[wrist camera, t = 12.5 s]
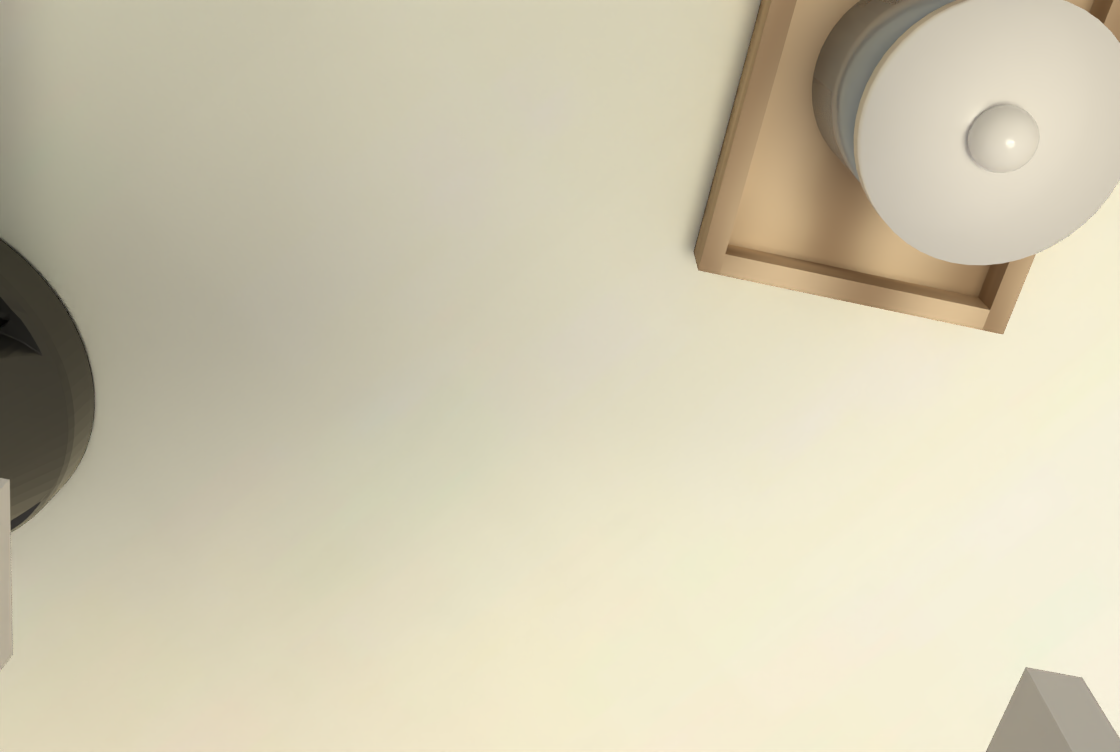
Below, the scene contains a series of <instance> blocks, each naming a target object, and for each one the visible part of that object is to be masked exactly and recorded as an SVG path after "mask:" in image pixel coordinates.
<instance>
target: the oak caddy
mask: <svg viewBox="0 0 1120 752" xmlns="http://www.w3.org/2000/svg"><path fill="white" fill-rule="evenodd" d="M859 1H860V0H761V4H760V8H759V11H758V15H757V19H756V22H755V26H754V30H753V34H752V37H751V41H750V45H749V48H748V52H747V56H746V60H745V63H744V67H743V71H742V75H741V78H740V82H739V86H738V89H737V93H736V97H735V101H734V104H733V108H732V112H731V115H730V119H729V123H728V127H727V130H726V134H725V138H724V141H723V145H722V149H721V153H720V156H719V160H718V164H717V168H716V171H715V175H714V179H713V182H712V186H711V190H710V194H709V197H708V201H707V205H706V208H705V212H704V216H703V220H702V223H701V227H700V231H699V234H698V238H697V242H696V246H695V249H694V255H695V259H696V263H697V267H698V270H700V271H704V272H709V273H714V274H719V275H723V276H728V277H733V278H738V279H742V280H747V281H752V282H757V283H761V284H766V285H771V286H776V287H780V288H785V289H790V290H795V291H799V292H804V293H809V294H814V295H818V296H823V297H828V298H833V299H837V300H842V301H847V302H852V303H856V304H861V305H866V306H871V307H875V308H880V309H885V310H890V311H894V312H899V313H904V314H909V315H913V316H918V317H923V318H928V319H933V320H937V321H942V322H947V323H952V324H956V325H961V326H966V327H971V328H975V329H980V330H985V331H990V332H994V333H999V334H1003V333H1004V331H1005V328H1006V326H1007V323H1008V321H1009V318H1010V316H1011V314H1012V311H1013V309H1014V306H1015V304H1016V301H1017V299H1018V296H1019V294H1020V291H1021V289H1022V286H1023V284H1024V282H1025V279H1026V277H1027V274H1028V272H1029V269H1030V267H1031V264H1032V262H1033V259H1034V257H1035V255H1036V254H1034V255H1031V256H1028V257H1025V258H1023V259H1020V260H1015V261H1011V262H1006V263H1002V264H992V265H964V264H957V263H951V262H947V261H944V260H940V259H937V258H934V257H932V256H929V255H927V254H925V253H923V252H920V251H919V250H917V249H915V248H914V247H912V246H911V245H909V244H907V243H906V242H905V241H904V240H902V239H901V238H900V237H899V236H898V235H897V234H895V233H894V232H893V230H892V229H891V228H890V227H889V226H888V225H887V224H886V223H885V221H884V220H883V219H882V218H881V217H880V216H879V214H878V213H877V212H876V211H875V209H874V208H873V206H872V205H871V203H870V202H869V200H868V198H867V196H866V194H865V192H864V190H863V188H862V186H861V183H860V182H859V181H858V180H857V179H856V178H855V176H854V175H853V174H852V173H851V172H850V171H849V170H848V169H847V167H846V166H845V165H844V164H843V163H842V162H841V161H840V159H839V158H838V157H837V156H836V155H835V154H834V153H833V152H832V150H831V149H830V148H829V147H828V145H827V143H826V142H825V140H824V139H823V137H822V135H821V133H820V131H819V128H818V126H817V123H816V119H815V116H814V111H813V105H812V81H813V74H814V70H815V65H816V62H817V59H818V56H819V53H820V51H821V48H822V46H823V44H824V42H825V40H826V38H827V37H828V35H829V33H830V32H831V30H832V29H833V27H834V26H835V25H836V23H837V22H838V21H839V20H840V19H841V18H842V16H843V15H844V14H845V13H846V12H847V11H848V10H849V9H850V8H852V7H853V6H854V5H855V4H856V3H857V2H859ZM1064 1H1067V2H1070V3H1072V4H1074V5H1076V6H1078V7H1080V8H1082V9H1084V10H1086V11H1087V12H1089V13H1090V14H1091V15H1093V16H1094V17H1096V18H1097V19H1099V20H1100V21H1101V22H1102V23H1103V24H1104V25H1105V26H1106V27H1107V28H1108V29H1109V30H1110V31H1111V32H1112V33H1113V35H1114V36H1115V37H1116V39H1117V40H1118V41H1119V43H1120V0H1064Z"/></svg>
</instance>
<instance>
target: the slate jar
mask: <svg viewBox="0 0 1120 752" xmlns="http://www.w3.org/2000/svg"><path fill="white" fill-rule="evenodd" d="M812 105H813V111H814V116H815V119H816V123H817V126H818V128H819V131H820V133H821V135H822V137H823V139H824V140H825V142H826V143H827V145H828V147H829V148H830V149H831V150H832V152H833V153H834V154H835V155H836V156H837V157H838V158H839V159H840V161H841V162H842V163H843V164H844V165H845V166H846V167H847V169H848V170H849V171H850V172H851V173H852V174H853V175H854V176H855V178H856V179H857V180H858V181H859V182H860V183H861V186H862V188H863V190H864V192H865V194H866V196H867V198H868V200H869V202H870V203H871V205H872V206H873V208H874V209H875V211H876V212H877V213H878V214H879V216H880V217H881V218H882V219H883V220H884V221H885V223H886V224H887V225H888V226H889V227H890V228H891V229H892V230H893V232H894V233H895V234H897V235H898V236H899V237H900V238H901V239H902V240H904V241H905V242H906V243H907V244H909V245H911V246H912V247H914V248H915V249H917V250H919V251H920V252H923V253H925V254H927V255H929V256H932V257H934V258H937V259H940V260H944V261H947V262H951V263H957V264H964V265H992V264H1002V263H1006V262H1011V261H1015V260H1020V259H1023V258H1025V257H1028V256H1031V255H1034V254H1037V253H1039V252H1041V251H1043V250H1045V249H1047V248H1049V247H1051V246H1053V245H1055V244H1057V243H1058V242H1060V241H1061V240H1063V239H1065V238H1066V237H1068V236H1069V235H1071V234H1072V233H1073V232H1074V231H1076V230H1077V229H1078V228H1080V227H1081V226H1082V225H1083V224H1084V223H1085V222H1086V221H1087V220H1088V219H1090V218H1091V217H1092V216H1093V215H1094V214H1095V213H1096V212H1097V211H1098V209H1099V208H1100V207H1101V206H1102V205H1103V203H1104V202H1105V201H1106V200H1107V198H1108V197H1109V196H1110V194H1111V193H1112V191H1113V190H1114V188H1115V187H1116V185H1117V184H1118V182H1119V180H1120V43H1119V41H1118V40H1117V39H1116V37H1115V36H1114V35H1113V33H1112V32H1111V31H1110V30H1109V29H1108V28H1107V27H1106V26H1105V25H1104V24H1103V23H1102V22H1101V21H1100V20H1099V19H1097V18H1096V17H1094V16H1093V15H1091V14H1090V13H1089V12H1087V11H1086V10H1084V9H1082V8H1080V7H1078V6H1076V5H1074V4H1072V3H1070V2H1067V1H1064V0H860V1H859V2H857V3H856V4H855V5H854V6H853V7H852V8H850V9H849V10H848V11H847V12H846V13H845V14H844V15H843V16H842V18H841V19H840V20H839V21H838V22H837V23H836V25H835V26H834V27H833V29H832V30H831V32H830V33H829V35H828V37H827V38H826V40H825V42H824V44H823V46H822V48H821V51H820V53H819V56H818V59H817V62H816V65H815V70H814V74H813V81H812Z"/></svg>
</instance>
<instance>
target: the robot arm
mask: <svg viewBox="0 0 1120 752" xmlns="http://www.w3.org/2000/svg"><path fill="white" fill-rule="evenodd" d="M93 416H94V390H93V381H92V376H91V370H90V366H89V362H88V359H87V355H86V352H85V349H84V346H83V344H82V341H81V339H80V337H79V334H78V332H77V330H76V328H75V326H74V324H73V322H72V320H71V318H70V317H69V315H68V313H67V311H66V310H65V308H64V307H63V305H62V304H61V302H60V301H59V299H58V298H57V296H56V295H55V294H54V292H53V291H52V290H51V288H50V287H49V286H48V284H47V283H46V282H45V281H44V280H43V279H42V278H41V276H40V275H39V274H38V273H37V272H36V271H35V270H34V269H33V268H32V267H31V266H30V265H29V264H28V263H27V262H26V261H25V260H24V259H23V258H22V257H21V256H20V255H18V254H17V253H16V252H15V251H14V250H13V249H11V248H10V247H9V246H8V245H6V244H5V243H4V242H3V241H1V240H0V671H1V669H2V668H3V667H4V665H5V664H6V663H7V662H8V660H9V659H10V658H11V656H12V655H13V640H12V583H11V532H13V531H14V530H16V529H18V528H19V527H21V526H22V525H23V524H25V523H26V522H27V521H29V520H30V519H31V518H32V517H34V516H35V515H36V514H37V513H38V512H39V511H40V510H41V509H42V508H43V507H44V506H45V505H46V504H47V503H48V502H49V501H50V499H51V498H52V497H53V496H54V495H55V494H56V493H57V492H58V491H59V490H60V489H61V488H62V487H63V485H64V484H65V483H66V482H67V481H68V480H69V478H70V477H71V476H72V474H73V473H74V471H75V470H76V468H77V466H78V465H79V463H80V461H81V459H82V457H83V455H84V453H85V450H86V447H87V445H88V442H89V438H90V434H91V430H92V424H93ZM986 752H1120V738H1119V737H1118V735H1117V733H1116V732H1115V730H1114V729H1113V727H1112V725H1111V724H1110V722H1109V720H1108V719H1107V717H1106V716H1105V714H1104V712H1103V711H1102V709H1101V707H1100V706H1099V704H1098V703H1097V701H1096V699H1095V698H1094V696H1093V694H1092V693H1091V691H1090V690H1089V688H1088V686H1087V685H1086V683H1085V681H1084V680H1083V678H1081V677H1076V676H1070V675H1065V674H1060V673H1054V672H1049V671H1043V670H1038V669H1032V668H1027V667H1026V668H1025V670H1024V672H1023V674H1022V676H1021V678H1020V680H1019V683H1018V685H1017V687H1016V689H1015V691H1014V693H1013V695H1012V697H1011V700H1010V702H1009V704H1008V706H1007V708H1006V710H1005V712H1004V714H1003V717H1002V719H1001V721H1000V723H999V725H998V727H997V729H996V731H995V734H994V736H993V738H992V740H991V742H990V744H989V746H988V748H987V750H986Z"/></svg>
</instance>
